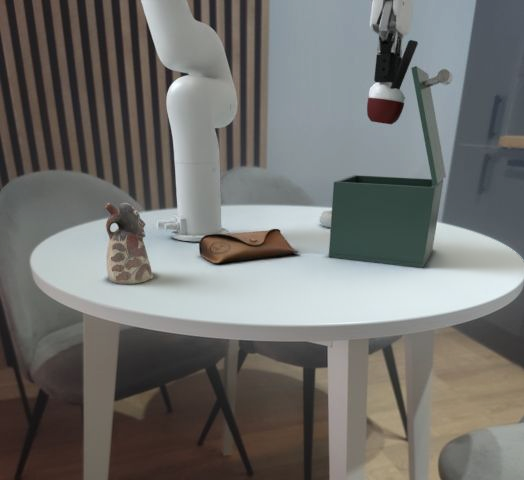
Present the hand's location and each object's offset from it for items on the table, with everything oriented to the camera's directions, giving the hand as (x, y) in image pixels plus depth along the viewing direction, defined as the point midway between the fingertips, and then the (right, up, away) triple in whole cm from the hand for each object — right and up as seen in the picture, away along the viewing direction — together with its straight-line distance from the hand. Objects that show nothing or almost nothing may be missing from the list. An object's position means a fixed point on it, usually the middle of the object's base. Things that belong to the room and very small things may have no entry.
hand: (386, 81), depth 84 cm
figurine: (-43, -34, -3) cm, 55 cm away
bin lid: (+8, -7, +3) cm, 11 cm away
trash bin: (+3, -26, +14) cm, 30 cm away
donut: (-2, -15, +40) cm, 43 cm away
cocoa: (0, -6, +3) cm, 7 cm away
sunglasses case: (-24, -27, +12) cm, 38 cm away
